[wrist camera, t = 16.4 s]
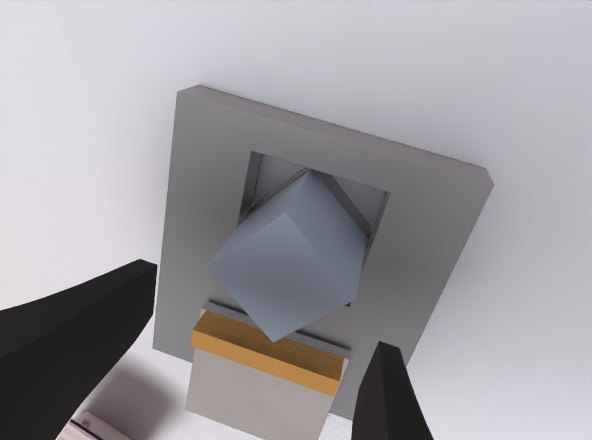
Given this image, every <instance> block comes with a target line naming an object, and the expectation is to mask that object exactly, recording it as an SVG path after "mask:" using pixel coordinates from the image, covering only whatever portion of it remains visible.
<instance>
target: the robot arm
mask: <svg viewBox="0 0 592 440" xmlns="http://www.w3.org/2000/svg"><path fill="white" fill-rule="evenodd" d="M156 276H157V265H156V264H153V263H150V262H147V261H144V260H142V259H139V260H136V261H133V262H131V263H129V264H126V265H124V266H122V267H119V268H117V269H115V270H113V271H110V272H108V273H106V274H103V275H101V276H98V277H96V278H94V279H91V280H89V281H87V282H84V283H82V284H79V285H77V286H74V287H71V288H69V289H66V290H63V291H61V292H58V293H55V294H52V295H50V296H47V297H44V298H41V299H38V300H35V301H32V302H29V303H26V304H22V305H19V306H15V307H12V308H8V309H4V310H1V311H0V440H55V439H56V438H57V436H58V435H59V434H60V432H61V431H62V429H63V428H64V427H65V425H66V424H67V422H68V421H69V420H70V418H71V417H72V415H73V414H74V413H75V411H76V410H77V409H78V407H79V406H80V405H81V404H82V402H83V401H84V400H85V399H86V397H87V396H88V395H89V394H90V393H91V392H92V390H93V389H94V388H95V387H96V386H97V385H98V384H99V382H100V381H101V380H102V379H103V378H104V377H105V376H106V374H107V373H108V372H109V371H110V370H111V369H112V368H113V366H114V365H115V364H116V363H117V362H118V361H119V360H120V358H121V357H122V356H123V355H124V354H125V353H126V351H127V350H128V349H129V348H130V347H131V346H132V344H133V343H134V342H135V341H136V339H137V338H138V336H139V335H140V333H141V332H142V331H143V329H144V328H145V326H146V324H147V323H148V321H149V320H150V318H151V317H152V315H153V308H154V297H155V287H156ZM351 440H434V439H433V437H432V435H431V432H430V430H429V428H428V426H427V424H426V421H425V419H424V416H423V414H422V411H421V409H420V406H419V404H418V401H417V399H416V396H415V393H414V390H413V388H412V385H411V382H410V379H409V376H408V373H407V370H406V366H405V363H404V360H403V356H402V353H401V350H400V348H399V347H396V346H393V345H390V344H387V343H384V342H381V341H379V342H378V344H377V347H376V349H375V351H374V354H373V356H372V358H371V361H370V363H369V365H368V368H367V370H366V373H365V375H364V377H363V380H362V382H361V384H360V387H359V390H358V395H357V400H356V406H355V411H354V416H353V424H352V436H351Z"/></svg>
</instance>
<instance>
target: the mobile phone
mask: <svg viewBox="0 0 592 440" xmlns="http://www.w3.org/2000/svg"><path fill="white" fill-rule="evenodd" d="M65 427H66V429H65V430H64V431H63V432H62V433H61V435H60V437H59V439H58V440H132V439H130V438H129V437H127V436H126V435H124V434H122V433H121V432H119V431H118V430H116V429H115V428H113V427H112V426H110V425H109V424H107V423H105V422H104V421H102V420H101V419H99V418H98V417H96V416H95V415H93V414H92V413H90V412H88V411H87V412H83V413H81V414H80V415H79V416H77V417H76V418H74V419H71V418H70V420H69V421H68V422H67V424H66V425H65Z"/></svg>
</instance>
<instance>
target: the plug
mask: <svg viewBox="0 0 592 440" xmlns="http://www.w3.org/2000/svg"><path fill="white" fill-rule="evenodd" d="M246 215H247V216H246V217H245V219H244V220H243V221H242V222H241V223H240V225H239V226H238V227H237V228H236V230H235V231H234V232H233V233H232V235H231V236H230V237H229V238H228V240H227V241H226V242H225V243H224V245H223V246H222V247H221V248H220V250H219V251H218V252H217V253H216V255H215V256H214V257H213V258H212V260H211V261H210V262H209V263H208V264H207V266H206V268H207V269H208V270H209V271H210V273H211V274H212V275H213V276H214V277H215V278H216V279H217V280H218V282H219V283H220V284H221V285H222V286H223V287H224V288H225V289H226V290H227V292H228V293H229V294H230V295H231V296H232V297H233V298H234V299H235V301H236V302H237V303H238V304H239V305H240V306H241V307H242V308H243V309H244V311H245V312H246V313H247V314H248V315H249V316H250V317H251V318H252V320H253V321H254V322H255V323H256V324H257V325H258V326H259V327H260V328H261V330H262V331H263V332H264V333H265V334H266V335H267V336H268V337H269V338H270V340H271V341H272V342H275V341H277V340H279V339H281V338H283V337H285V336H286V335H288V334H290V333H292V332H294V331H296V330H298V329H300V328H302V327H304V326H306V325H308V324H310V323H311V322H313V321H315V320H317V319H319V318H321V317H323V316H325V315H327V314H329V313H331V312H333V311H334V310H336V309H338V308H340V307H342V306H344V305H346V304H348V303H350V302H352V301H354V300H356V297H357V291H358V286H359V280H360V275H361V269H362V264H363V258H364V253H365V247H366V242H367V239H368V238H369V234H370V229H371V226H370V225H369V224H368V222H367V221H366V220H365V219H364V217H363V216H362V215H361V213H360V212H359V211H358V210H357V208H356V207H355V206H354V204H353V203H352V202H351V201H350V199H349V198H348V197H347V195H346V194H345V193H344V191H343V190H342V189H341V188H340V186H339V185H338V184H337V182H336V181H335V180H334V179H333V177H332V176H331V175H330V174H327V173H324V172H320V171H317V170H314V169H311V168H307V167H305V168H304V169H303V170H301V171H300V172H299V173H297V174H296V175H294V176H293V177H292V178H290V179H289V180H288V181H286V182H285V183H283V184H282V185H281V186H279V187H278V188H277V189H275V190H274V191H272V192H271V193H270V194H268V195H267V196H266V197H264V198H263V199H261V200H260V201H259V202H257V203H256V204H255V205H253V207H252V208H251V209H250V210H249V212H248V213H247V214H246Z"/></svg>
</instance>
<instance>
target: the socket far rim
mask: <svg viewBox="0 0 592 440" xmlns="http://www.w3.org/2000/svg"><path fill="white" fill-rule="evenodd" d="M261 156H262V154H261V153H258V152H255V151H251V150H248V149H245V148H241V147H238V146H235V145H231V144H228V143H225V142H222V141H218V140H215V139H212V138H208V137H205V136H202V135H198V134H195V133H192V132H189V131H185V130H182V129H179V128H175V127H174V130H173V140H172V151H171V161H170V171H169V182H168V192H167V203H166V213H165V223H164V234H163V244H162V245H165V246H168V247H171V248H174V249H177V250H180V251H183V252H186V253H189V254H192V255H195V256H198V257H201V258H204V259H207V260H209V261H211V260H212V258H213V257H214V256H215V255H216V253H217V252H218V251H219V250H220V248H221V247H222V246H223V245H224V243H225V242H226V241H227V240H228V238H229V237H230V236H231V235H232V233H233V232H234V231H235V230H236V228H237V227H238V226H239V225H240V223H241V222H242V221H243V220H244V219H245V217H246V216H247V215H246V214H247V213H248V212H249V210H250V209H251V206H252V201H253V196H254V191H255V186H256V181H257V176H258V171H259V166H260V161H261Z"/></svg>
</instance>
